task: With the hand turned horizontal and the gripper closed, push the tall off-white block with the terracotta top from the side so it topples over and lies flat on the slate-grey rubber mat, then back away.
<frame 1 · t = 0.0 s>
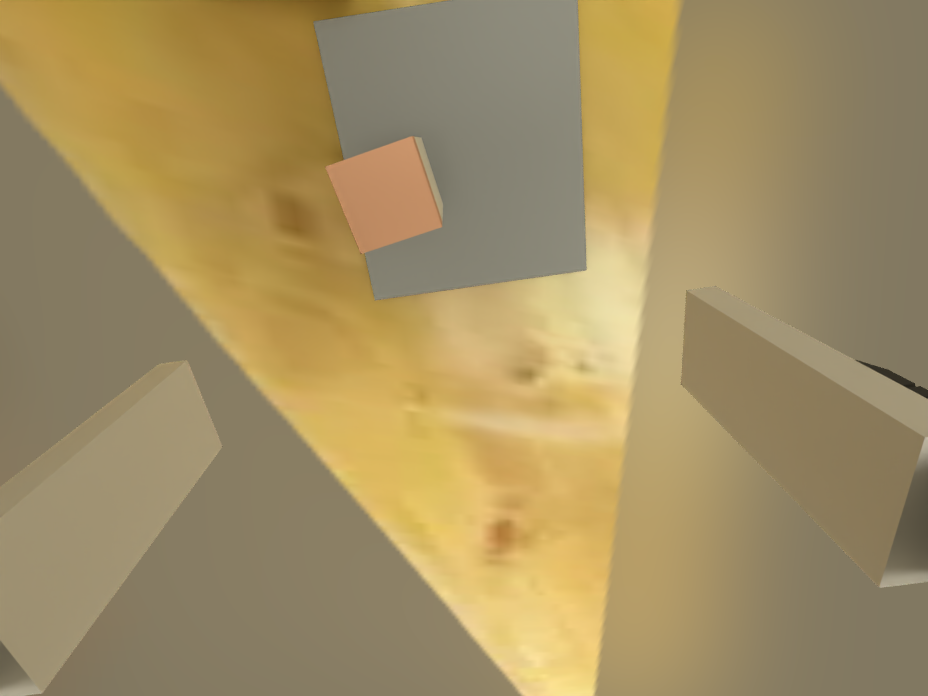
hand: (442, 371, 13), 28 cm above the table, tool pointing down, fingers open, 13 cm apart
tall block: (401, 182, 37), point 1 cm above the table, touching slate mat
slate mat: (463, 158, 37), on the table
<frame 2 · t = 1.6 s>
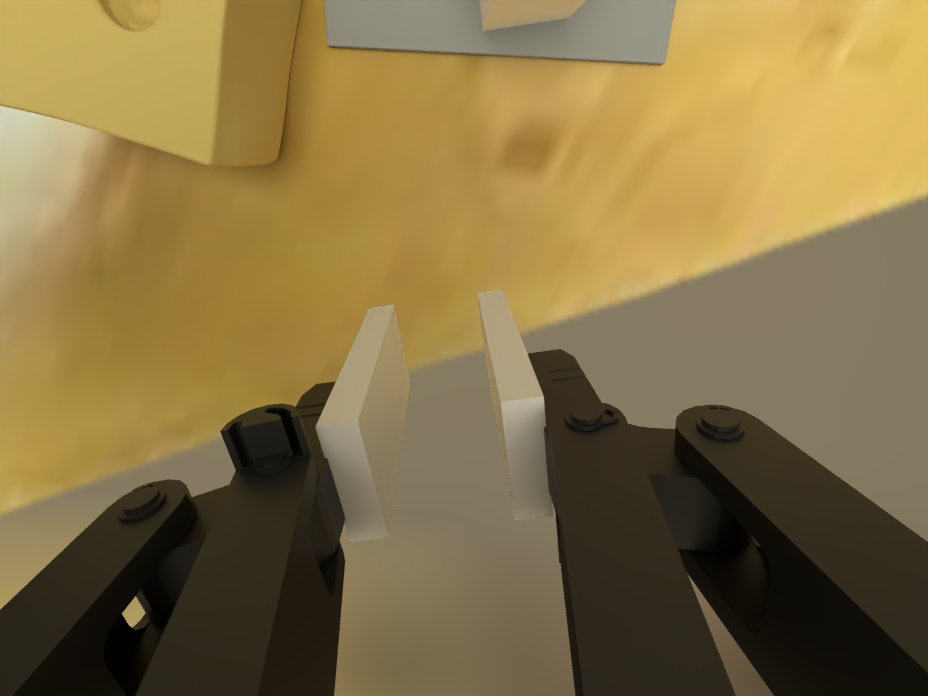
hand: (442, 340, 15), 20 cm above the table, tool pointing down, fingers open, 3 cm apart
cheese: (212, 51, 28), on the table
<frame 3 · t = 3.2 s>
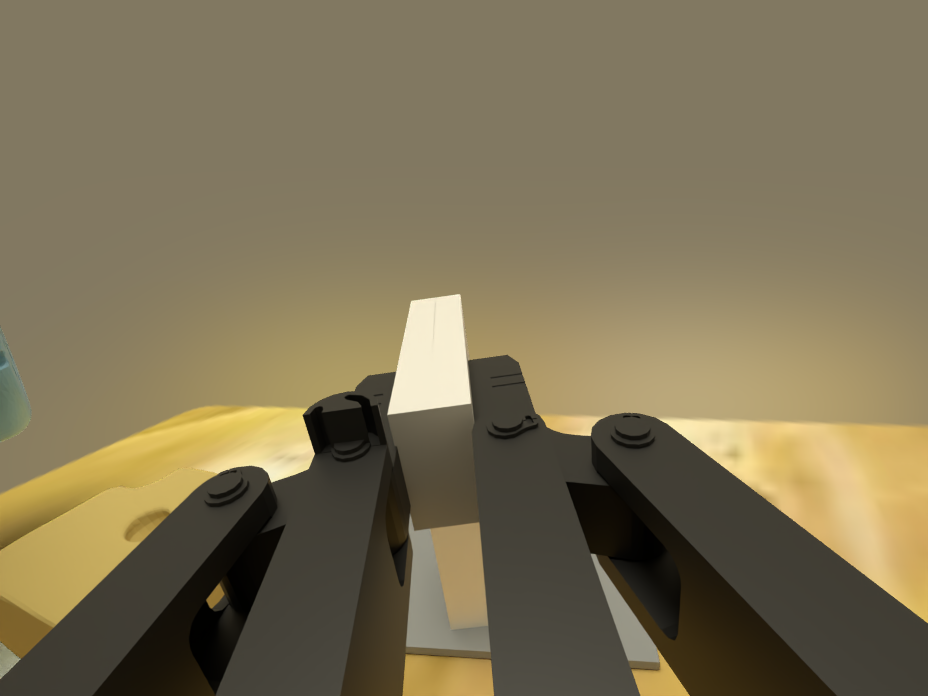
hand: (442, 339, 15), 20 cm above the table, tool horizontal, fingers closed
cheese: (192, 650, 29), on the table
tall block: (490, 586, 29), point 1 cm above the table, touching slate mat
slate mat: (484, 531, 34), on the table
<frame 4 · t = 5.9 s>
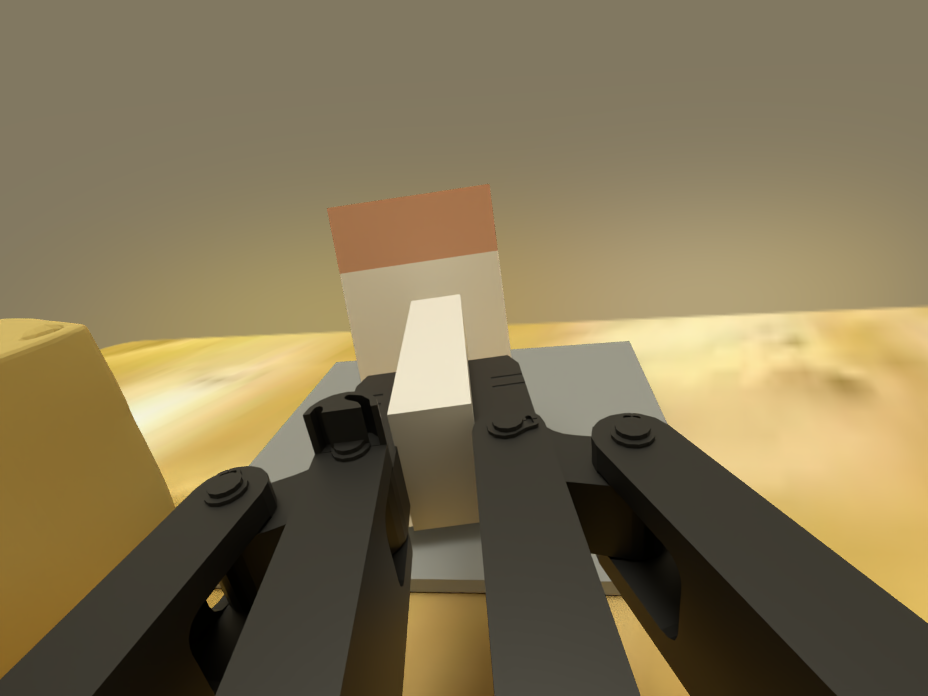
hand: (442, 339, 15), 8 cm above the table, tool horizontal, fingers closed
cheese: (1, 601, 19), on the table
tall block: (459, 485, 19), point 1 cm above the table, tilted 12°, touching gripper, slate mat
slate mat: (457, 437, 24), on the table
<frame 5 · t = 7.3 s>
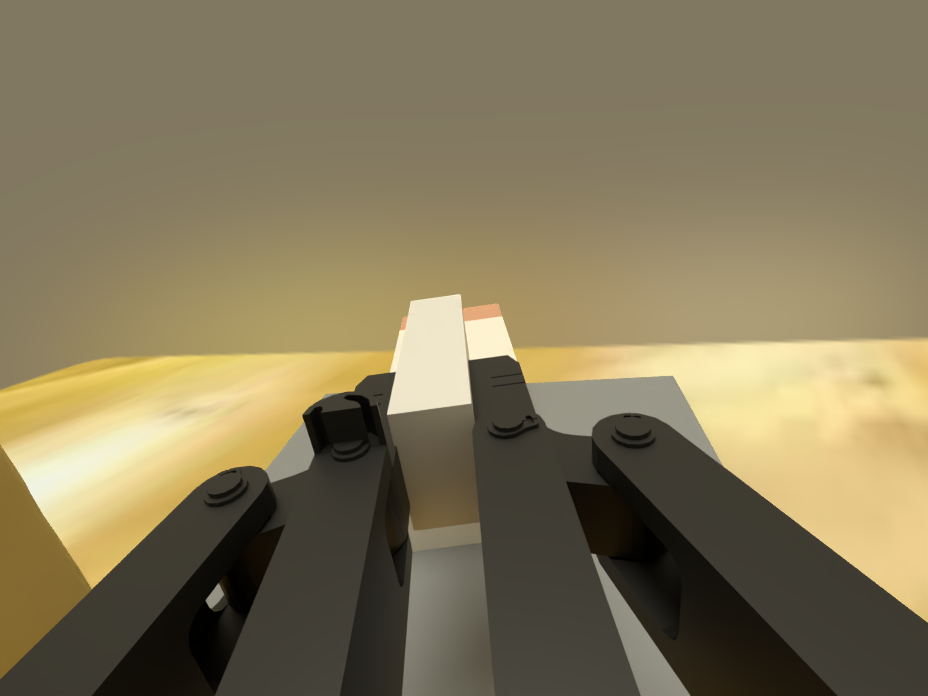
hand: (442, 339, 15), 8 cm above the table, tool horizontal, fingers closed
tall block: (465, 487, 16), point 3 cm above the table, tilted 90°, touching slate mat
slate mat: (469, 505, 19), on the table
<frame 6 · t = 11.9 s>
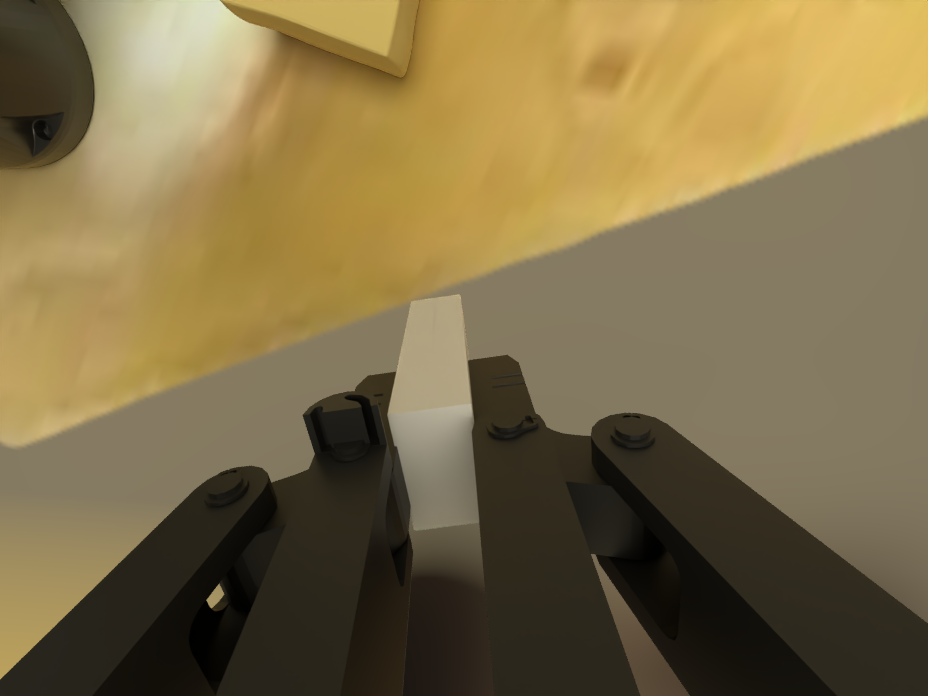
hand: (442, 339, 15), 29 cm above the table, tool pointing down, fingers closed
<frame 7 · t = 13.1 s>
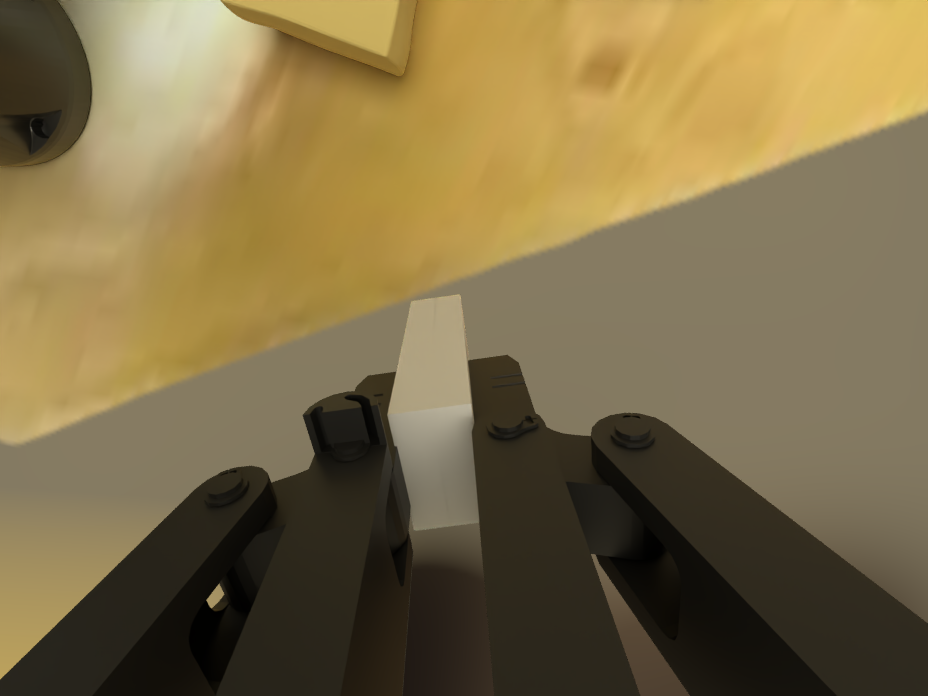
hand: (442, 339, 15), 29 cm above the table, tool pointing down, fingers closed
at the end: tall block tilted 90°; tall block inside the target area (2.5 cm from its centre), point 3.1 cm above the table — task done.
